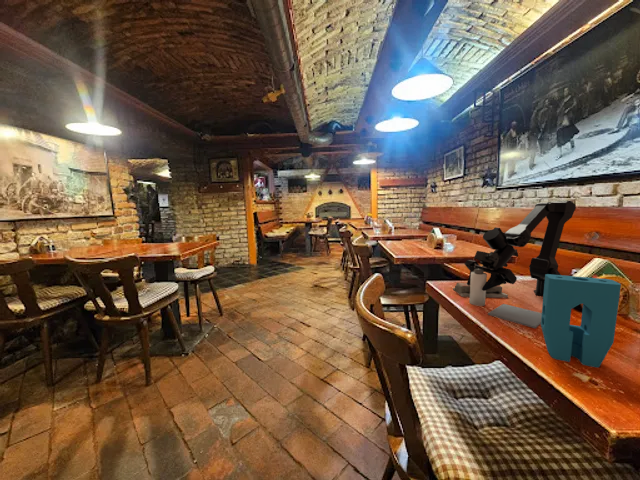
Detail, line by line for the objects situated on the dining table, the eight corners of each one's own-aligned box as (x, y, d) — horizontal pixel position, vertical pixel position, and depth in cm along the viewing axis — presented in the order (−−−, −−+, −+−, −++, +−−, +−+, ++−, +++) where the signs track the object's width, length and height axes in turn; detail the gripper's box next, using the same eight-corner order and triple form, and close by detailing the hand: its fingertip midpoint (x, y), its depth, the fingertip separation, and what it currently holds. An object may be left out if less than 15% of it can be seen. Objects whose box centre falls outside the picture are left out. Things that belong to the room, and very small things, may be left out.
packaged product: (462, 286, 105) (452, 280, 115) (461, 297, 105) (452, 290, 115) (509, 287, 103) (495, 280, 112) (508, 298, 103) (494, 291, 113)
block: (601, 359, 61) (611, 279, 59) (612, 370, 57) (623, 285, 55) (537, 346, 67) (544, 273, 65) (542, 356, 63) (550, 278, 60)
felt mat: (503, 305, 96) (503, 303, 96) (548, 316, 85) (548, 314, 85) (487, 314, 88) (487, 313, 87) (535, 328, 77) (535, 326, 77)
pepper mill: (469, 300, 101) (471, 267, 100) (485, 302, 99) (487, 268, 97) (468, 304, 97) (470, 270, 96) (484, 306, 94) (487, 271, 93)
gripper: (469, 240, 105) (445, 268, 104) (512, 247, 87) (484, 280, 86) (483, 258, 108) (460, 285, 107) (528, 267, 90) (501, 300, 89)
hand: (475, 287), depth 97 cm, fingers open, 7 cm apart
